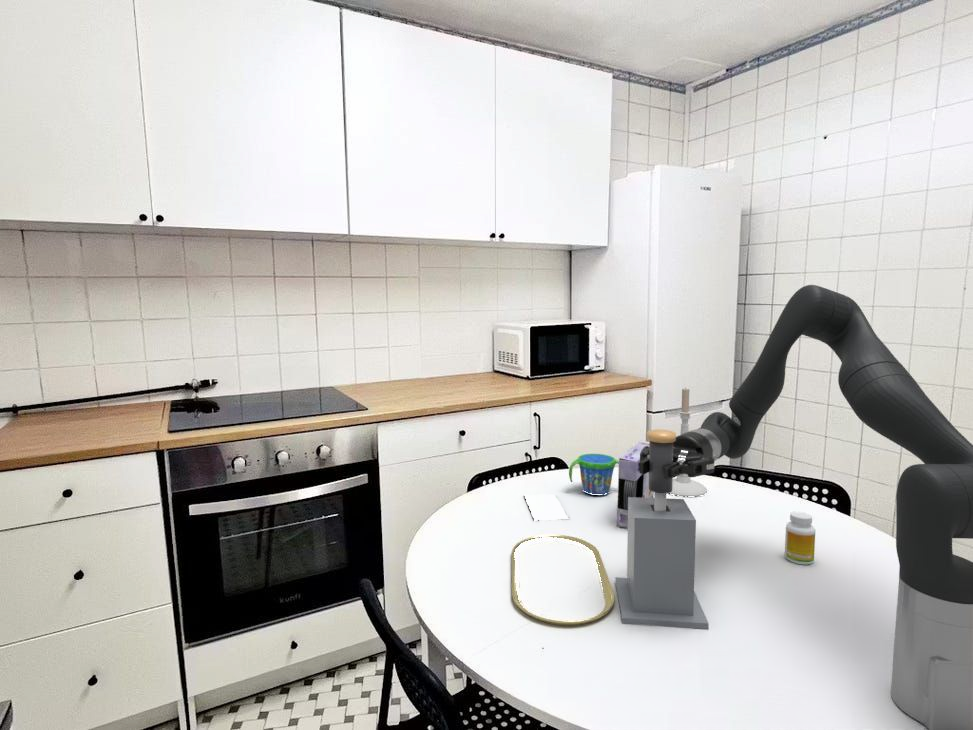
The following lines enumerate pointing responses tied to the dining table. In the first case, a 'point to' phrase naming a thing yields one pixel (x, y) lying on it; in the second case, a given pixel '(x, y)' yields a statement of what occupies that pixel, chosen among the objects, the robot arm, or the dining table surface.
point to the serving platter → (604, 578)
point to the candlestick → (684, 483)
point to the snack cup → (595, 472)
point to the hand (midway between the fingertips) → (653, 470)
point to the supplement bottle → (800, 539)
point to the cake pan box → (631, 482)
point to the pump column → (660, 567)
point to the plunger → (660, 465)
